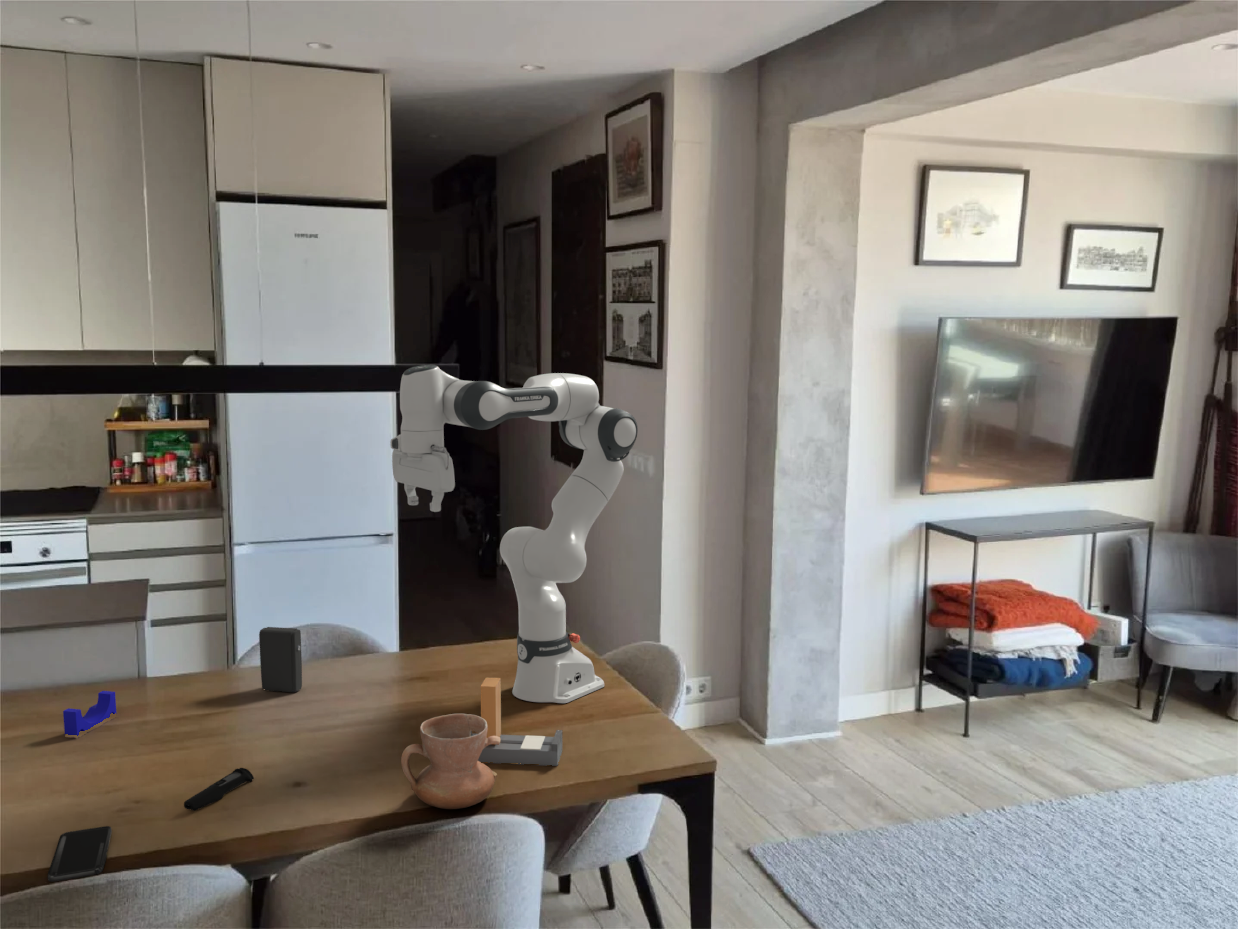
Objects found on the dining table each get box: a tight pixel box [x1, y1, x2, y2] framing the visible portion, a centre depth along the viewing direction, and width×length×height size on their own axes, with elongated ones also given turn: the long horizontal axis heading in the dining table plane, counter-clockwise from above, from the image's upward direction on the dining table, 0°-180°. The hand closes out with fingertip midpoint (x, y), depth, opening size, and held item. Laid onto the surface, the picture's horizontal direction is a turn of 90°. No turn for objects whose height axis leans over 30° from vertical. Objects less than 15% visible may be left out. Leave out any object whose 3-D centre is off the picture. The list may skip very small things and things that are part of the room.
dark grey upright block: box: [258, 626, 303, 693], centre depth 238 cm, size 9×4×15 cm, turn 82°
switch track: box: [471, 729, 563, 767], centre depth 203 cm, size 20×7×4 cm, turn 85°
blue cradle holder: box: [62, 690, 117, 736], centre depth 216 cm, size 12×4×6 cm, turn 169°
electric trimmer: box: [183, 767, 255, 812], centre depth 186 cm, size 4×16×3 cm, turn 159°
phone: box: [47, 825, 113, 883], centre depth 165 cm, size 8×1×15 cm
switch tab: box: [480, 677, 502, 738], centre depth 203 cm, size 3×5×12 cm, turn 175°
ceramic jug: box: [400, 713, 501, 810], centre depth 184 cm, size 18×14×14 cm
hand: (424, 508), depth 213 cm, fingers open, 8 cm apart
